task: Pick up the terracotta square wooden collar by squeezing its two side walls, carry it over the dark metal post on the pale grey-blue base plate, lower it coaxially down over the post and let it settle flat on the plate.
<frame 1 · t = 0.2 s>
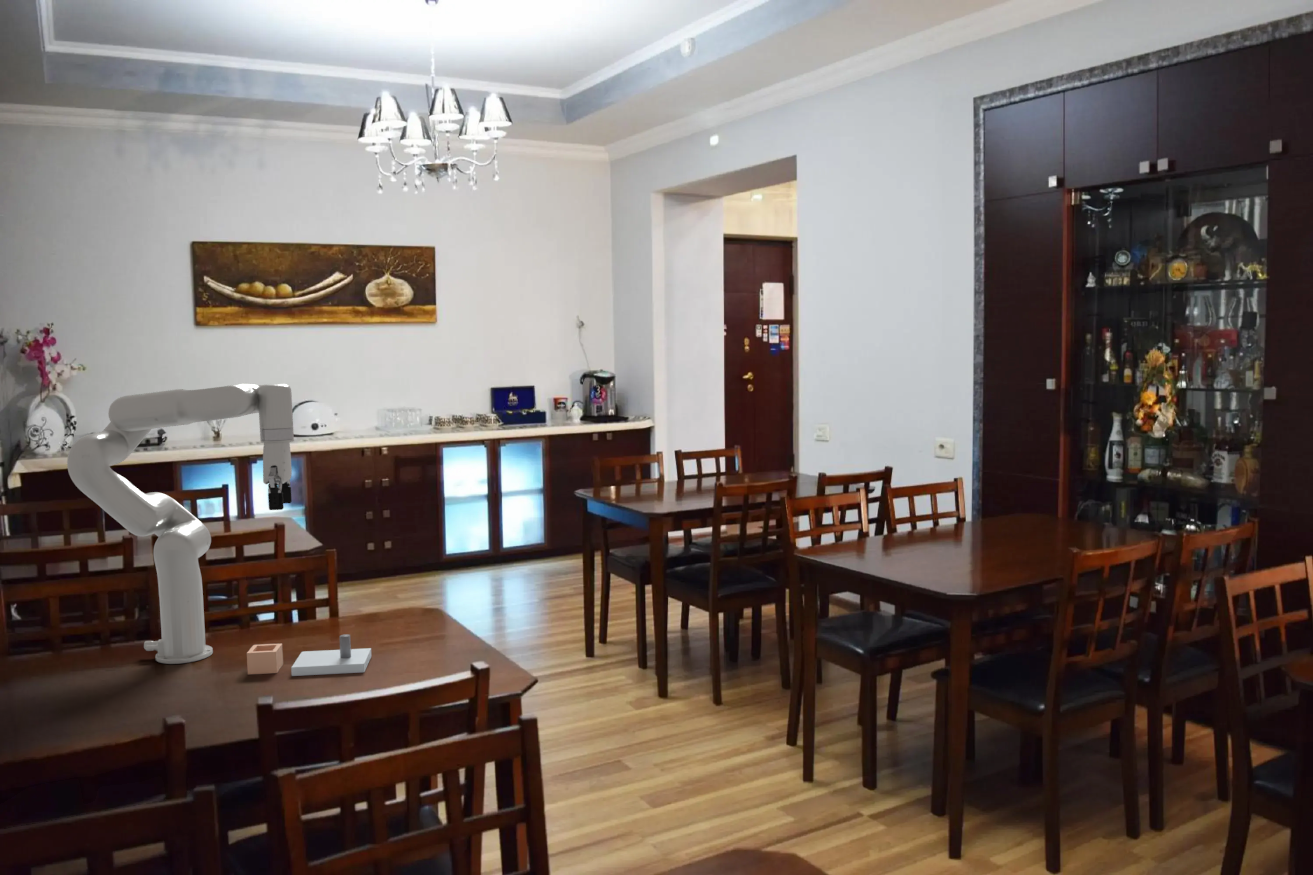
hand: (280, 506, 249), 36 cm above the table, fingers open, 9 cm apart
post plate: (332, 665, 241), on the table
collar: (265, 669, 239), on the table
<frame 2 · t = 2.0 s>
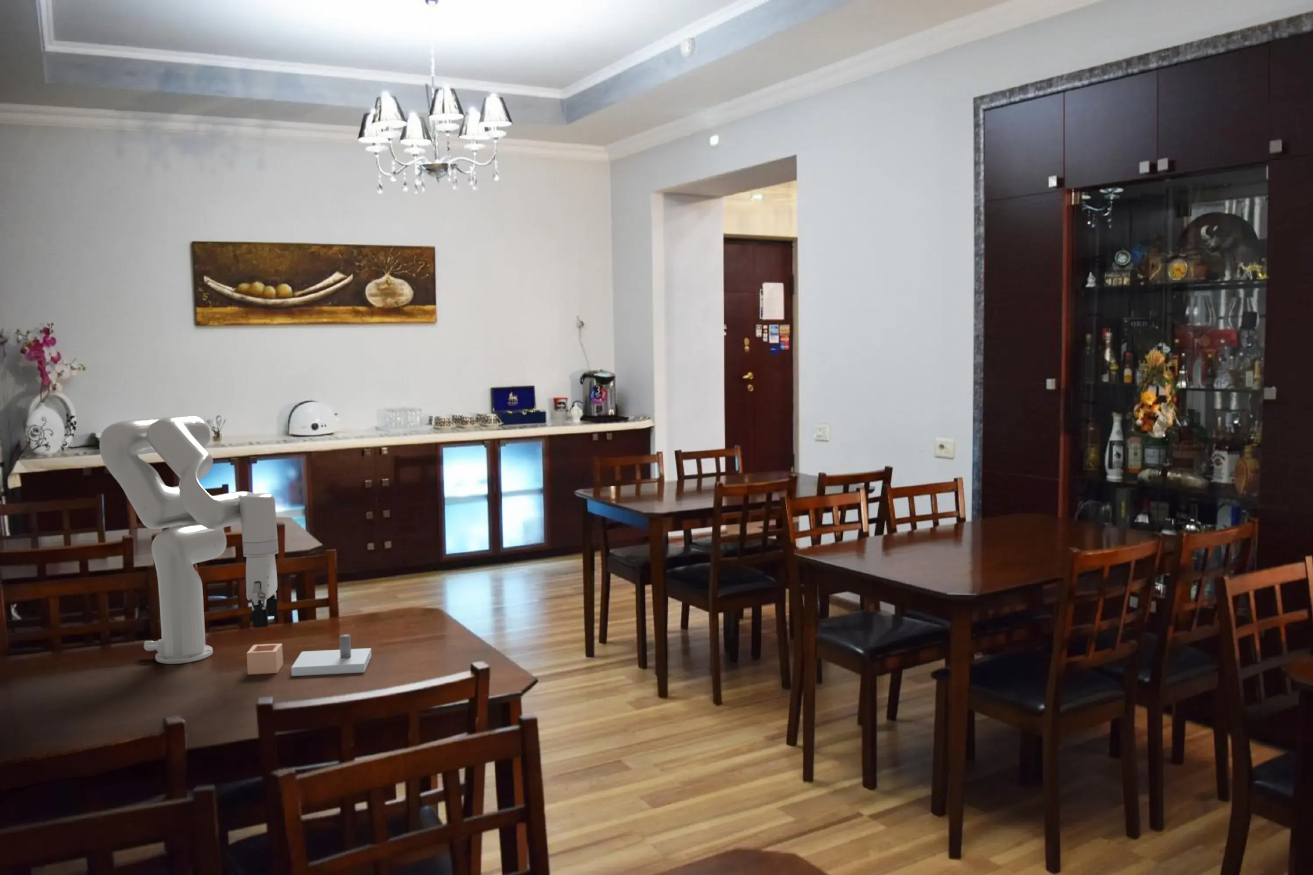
hand: (265, 621, 238), 11 cm above the table, fingers open, 9 cm apart
nothing on the table moved.
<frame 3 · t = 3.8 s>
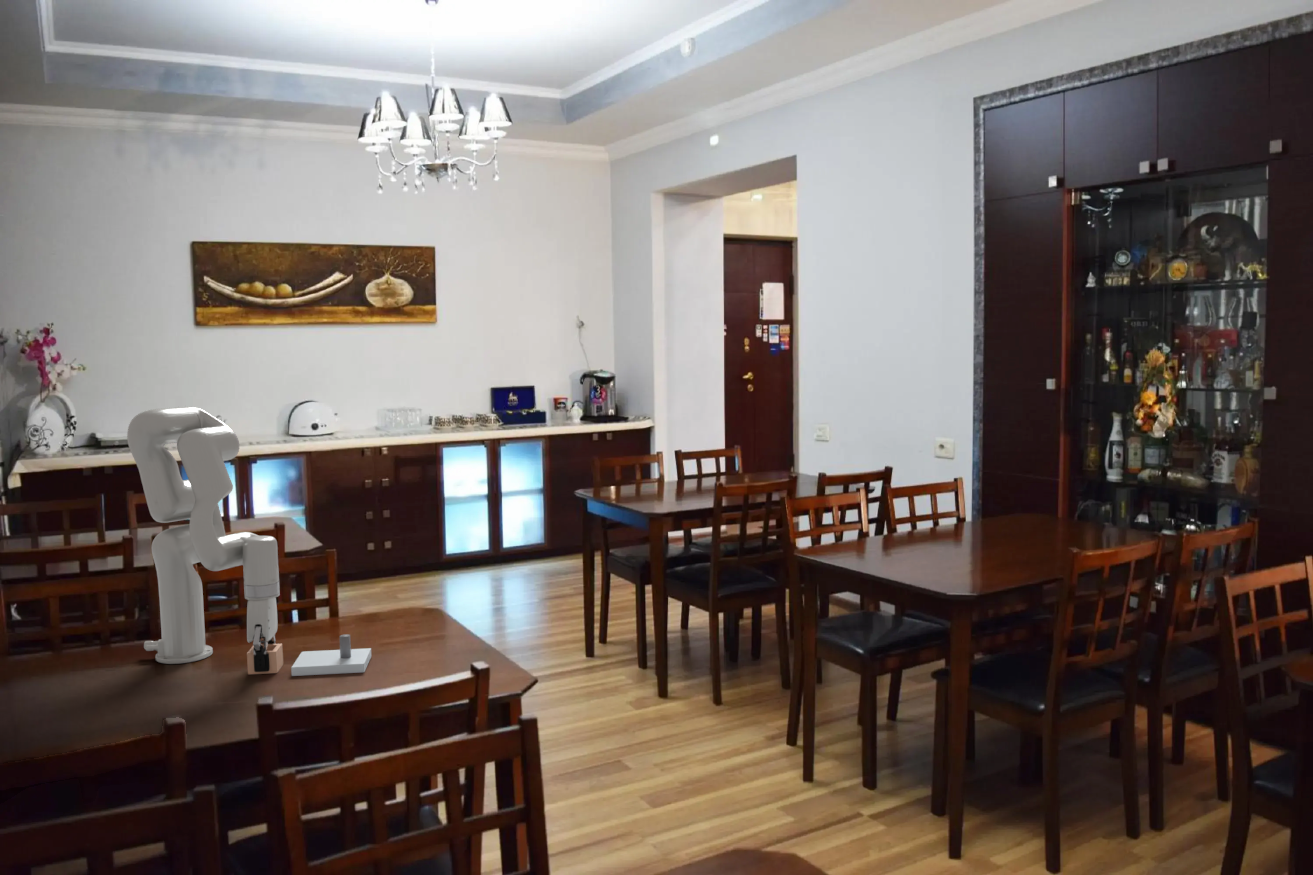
hand: (265, 665, 239), 1 cm above the table, fingers closed on collar, 6 cm apart
collar: (265, 669, 239), on the table, touching gripper
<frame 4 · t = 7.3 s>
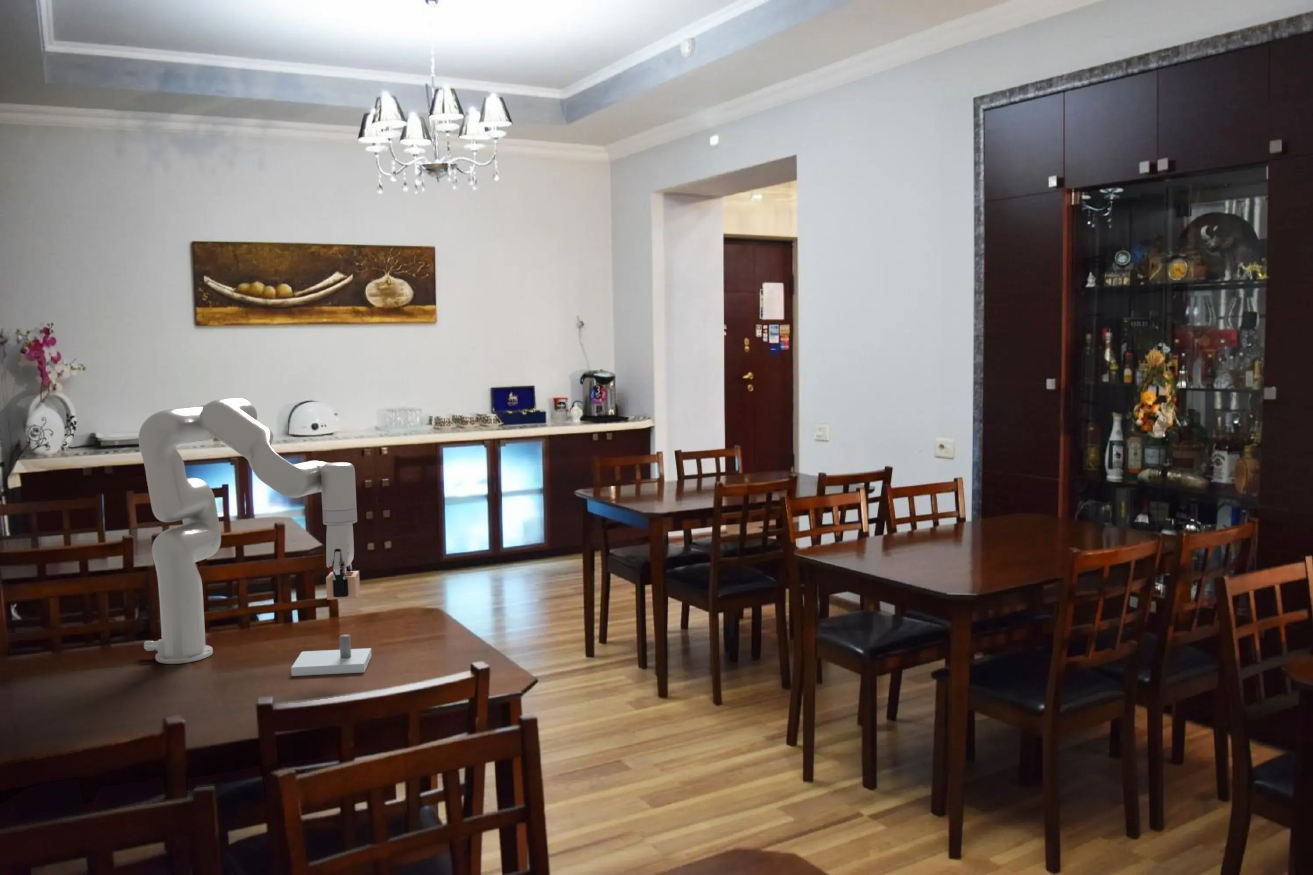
hand: (343, 592, 240), 17 cm above the table, fingers closed on collar, 6 cm apart
collar: (343, 595, 240), point 17 cm above the table, touching gripper
when the fingers open (4 cm above the table, at t = 10.6 s): collar stays where it is, resting on post plate.
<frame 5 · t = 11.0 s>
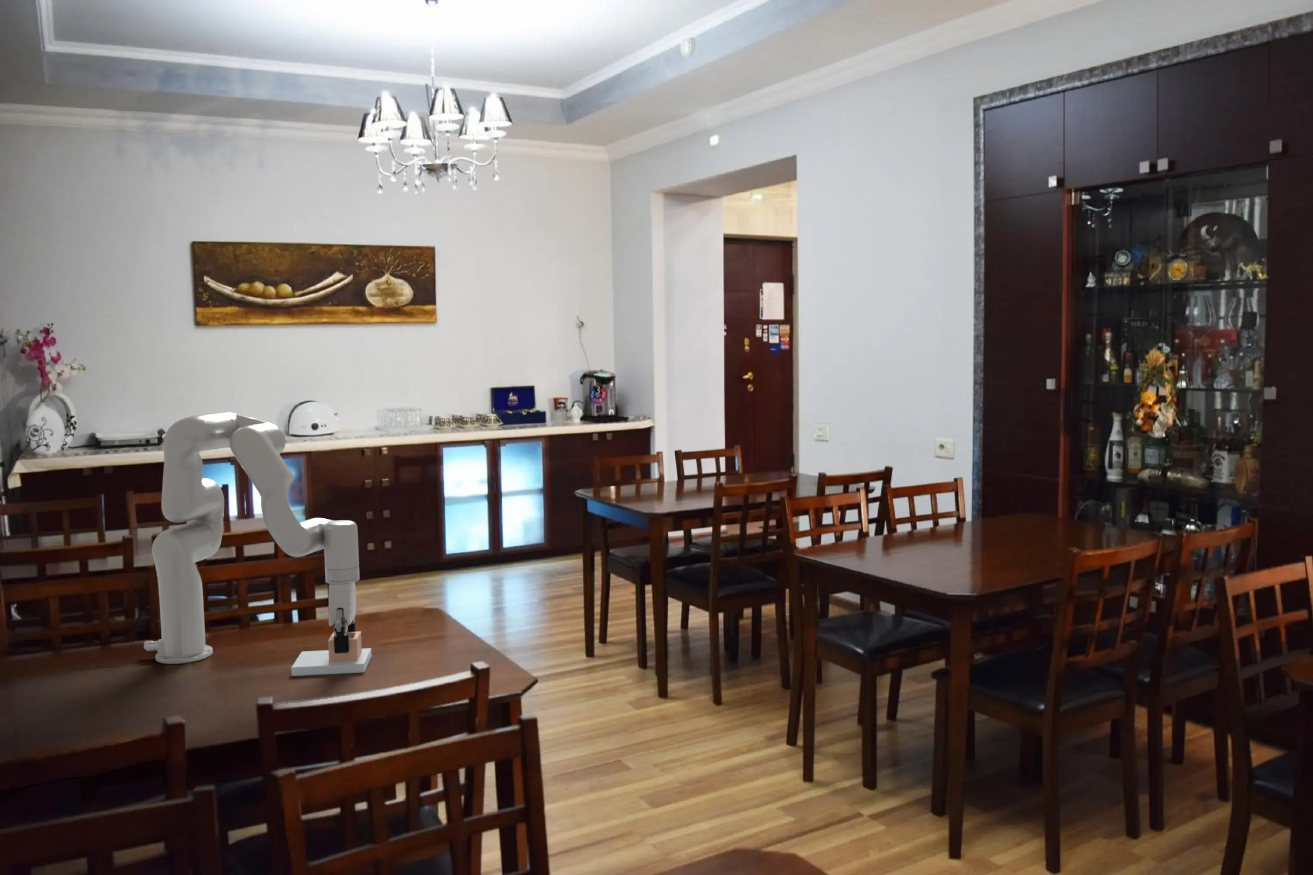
hand: (345, 646, 241), 4 cm above the table, fingers open, 9 cm apart
collar: (345, 656, 242), point 2 cm above the table, touching post plate
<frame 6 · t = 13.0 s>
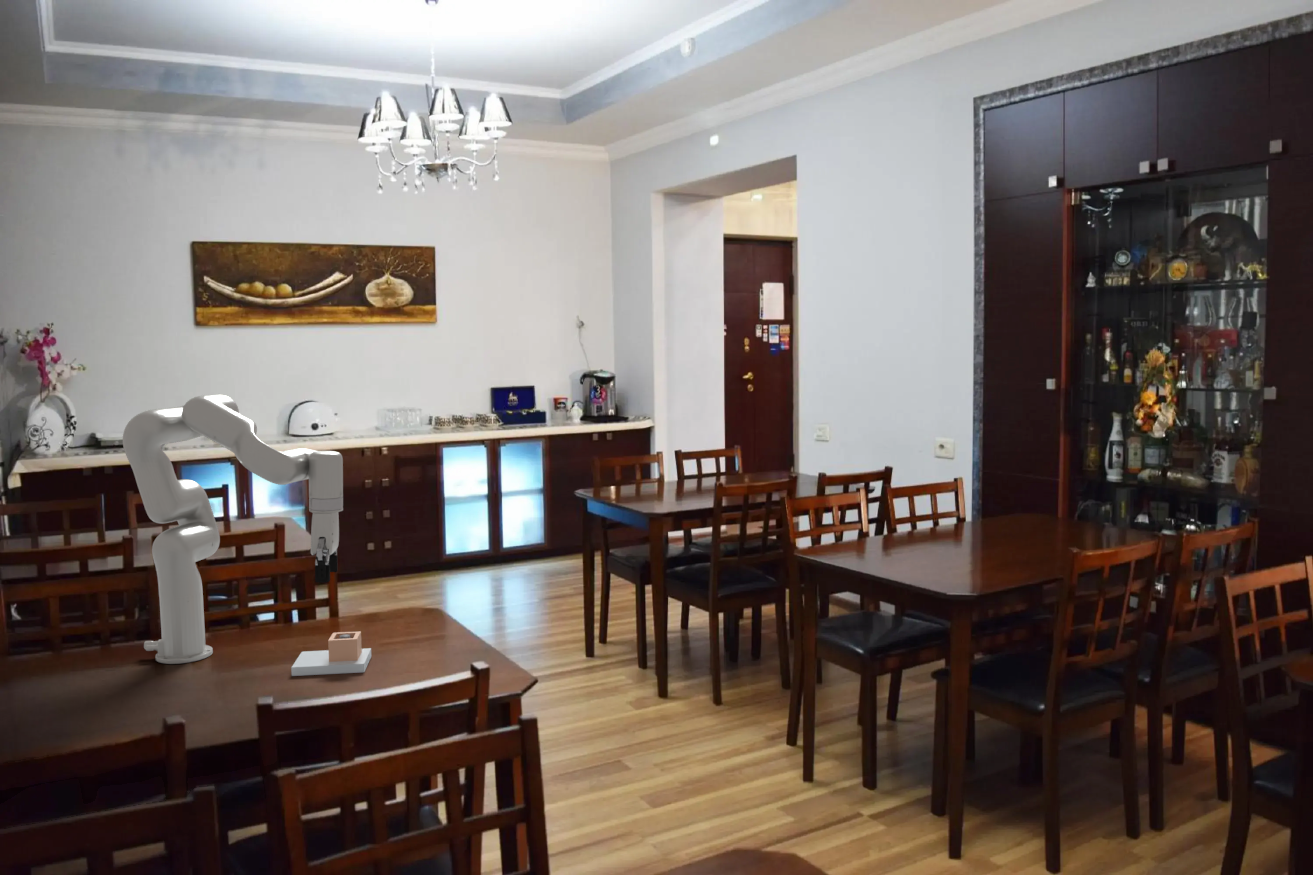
hand: (326, 576, 242), 21 cm above the table, fingers open, 9 cm apart
nothing on the table moved.
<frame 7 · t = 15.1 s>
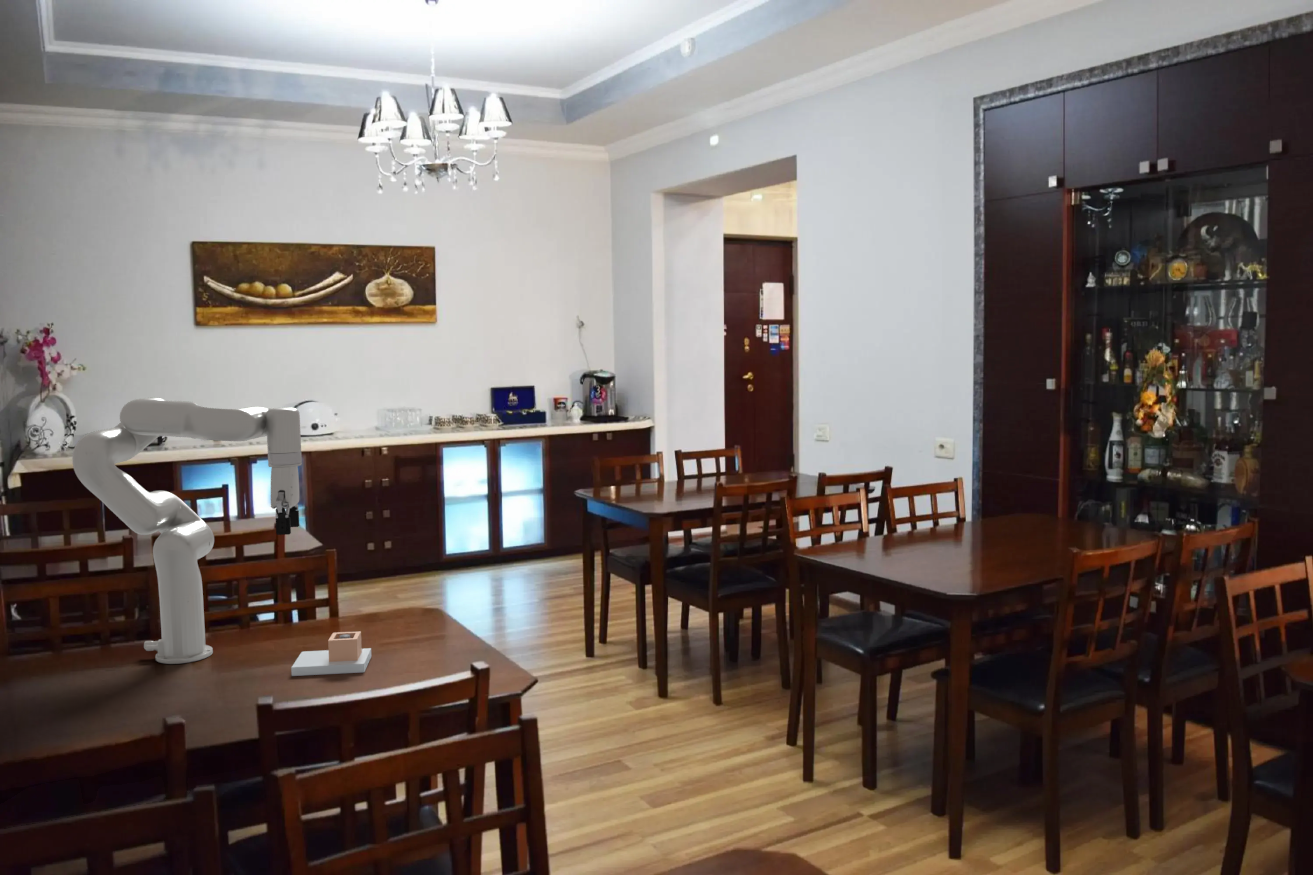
hand: (288, 530, 248), 30 cm above the table, fingers open, 9 cm apart
nothing on the table moved.
at the end: collar 0.0 cm from the target spot on the post plate, point 2.0 cm above the post plate's base; collar tilted 0°; the gripper is holding nothing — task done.
